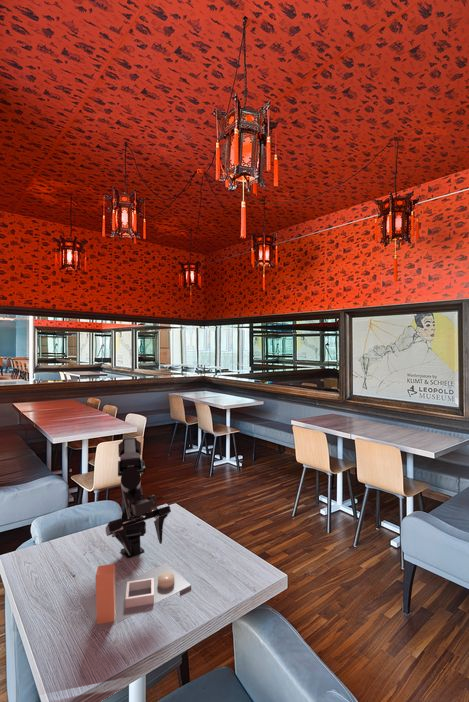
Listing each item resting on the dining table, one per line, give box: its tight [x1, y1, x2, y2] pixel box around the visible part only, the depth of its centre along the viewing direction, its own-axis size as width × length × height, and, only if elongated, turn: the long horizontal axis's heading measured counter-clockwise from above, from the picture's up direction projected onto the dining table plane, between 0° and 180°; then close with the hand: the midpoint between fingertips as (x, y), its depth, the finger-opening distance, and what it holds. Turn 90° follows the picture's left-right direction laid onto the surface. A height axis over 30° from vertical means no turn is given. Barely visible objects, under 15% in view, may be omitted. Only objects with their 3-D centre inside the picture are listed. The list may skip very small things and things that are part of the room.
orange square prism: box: [95, 563, 116, 624], centre depth 100 cm, size 4×4×13 cm
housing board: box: [80, 562, 192, 633], centre depth 110 cm, size 15×28×4 cm, turn 130°
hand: (146, 549), depth 108 cm, fingers open, 9 cm apart
